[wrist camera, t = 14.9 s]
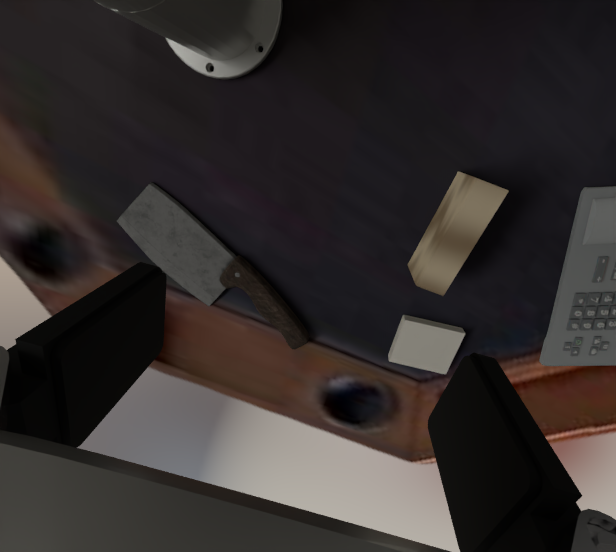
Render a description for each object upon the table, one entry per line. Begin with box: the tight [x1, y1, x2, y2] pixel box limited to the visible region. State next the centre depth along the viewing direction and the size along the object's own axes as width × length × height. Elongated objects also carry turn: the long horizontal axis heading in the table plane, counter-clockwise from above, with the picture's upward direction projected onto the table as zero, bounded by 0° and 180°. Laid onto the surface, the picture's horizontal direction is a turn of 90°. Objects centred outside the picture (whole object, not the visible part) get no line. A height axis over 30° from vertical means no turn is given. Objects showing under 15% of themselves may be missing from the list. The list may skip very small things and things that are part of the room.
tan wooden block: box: [408, 171, 509, 296], centre depth 35 cm, size 12×3×6 cm, turn 161°
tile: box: [388, 315, 465, 374], centre depth 44 cm, size 2×8×7 cm
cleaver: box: [117, 182, 309, 349], centre depth 44 cm, size 30×10×2 cm, turn 48°
